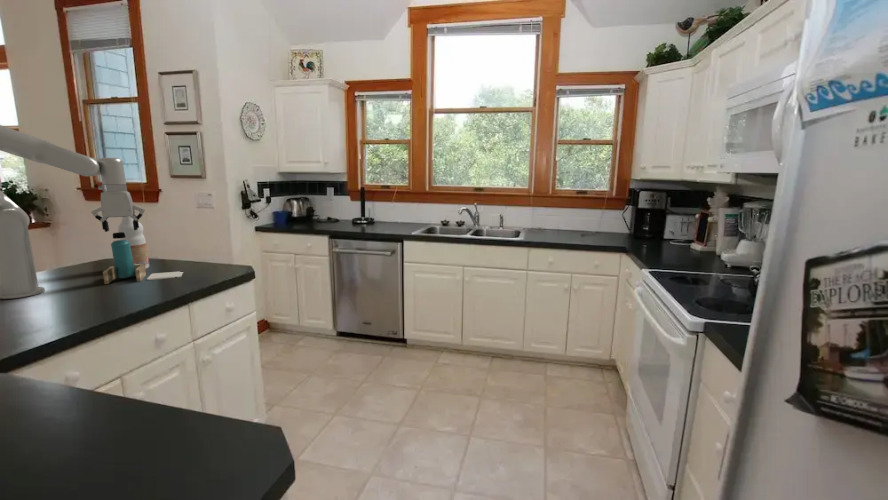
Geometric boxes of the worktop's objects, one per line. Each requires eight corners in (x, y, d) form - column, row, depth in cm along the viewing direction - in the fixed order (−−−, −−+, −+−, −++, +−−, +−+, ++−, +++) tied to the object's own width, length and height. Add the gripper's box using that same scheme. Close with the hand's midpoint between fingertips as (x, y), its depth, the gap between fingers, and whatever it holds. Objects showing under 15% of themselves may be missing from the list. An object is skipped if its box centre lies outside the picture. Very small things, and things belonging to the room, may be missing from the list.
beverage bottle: (140, 277, 173) (132, 231, 168) (126, 281, 166) (118, 234, 162) (126, 276, 173) (118, 230, 169) (112, 281, 167) (104, 233, 163)
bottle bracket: (104, 284, 162) (102, 272, 161) (112, 277, 173) (111, 266, 172) (140, 281, 167) (139, 269, 166) (146, 274, 178) (145, 263, 177)
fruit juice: (145, 271, 185) (136, 210, 179) (121, 272, 182) (110, 210, 176) (152, 265, 193) (144, 207, 187) (129, 267, 190) (119, 208, 184)
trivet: (147, 280, 169) (146, 278, 169) (151, 274, 178) (151, 273, 178) (180, 277, 174) (180, 276, 174) (183, 272, 183) (183, 271, 183)
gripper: (84, 189, 156) (92, 233, 159) (139, 188, 164) (145, 230, 167) (91, 188, 163) (98, 230, 166) (143, 188, 170) (148, 228, 174)
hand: (121, 230), depth 167 cm, fingers open, 9 cm apart
